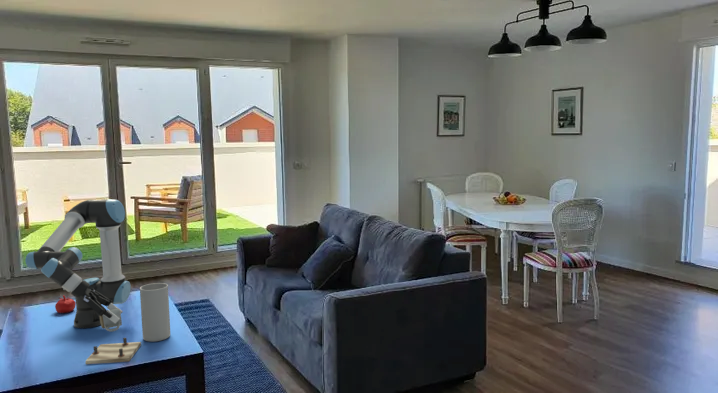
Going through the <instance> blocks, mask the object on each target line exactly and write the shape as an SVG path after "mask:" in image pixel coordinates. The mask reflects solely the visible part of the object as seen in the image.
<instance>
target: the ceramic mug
mask: <svg viewBox="0 0 718 393" xmlns="http://www.w3.org/2000/svg"><path fill="white" fill-rule="evenodd" d="M119 309H120V308H119V307H118V308H117V309H113V310H109V311H111V312H112V313H113V314H115V315H116V316H117V317H119V318H120V319H119V320H118V321H117V322H116V324H115V323H114V322H112V321H111V320H110V319H108V318H107V317H105V316H104V315H102V316H100V323H101V325H100V327H101V329H105V330H106V331H107V332H116V331H118V330H119V329H120V327H121V326H122V325H123V324H122V323H123V322H122V315H121V314H122V313H121V314H120V310H121V309H120V310H119Z"/></svg>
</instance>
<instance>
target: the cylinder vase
mask: <svg viewBox="0 0 718 393" xmlns="http://www.w3.org/2000/svg"><path fill="white" fill-rule="evenodd" d="M139 294H140V295H139V297H140V298H139V299H140V313H141V329H142V330H141V332H142V339H143V341H145V342H152V343H153V342H154V343H155V342H161V341H165V340H166V339H168V338H170V336H171V319H170V317H171V316H170V315H171V314H170V299H169V297H170V296H169V284H167V283H164V282H163V283H162V282H157V283H148V284H145V285H141V286H140V287H139Z"/></svg>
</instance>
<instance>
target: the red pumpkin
mask: <svg viewBox="0 0 718 393" xmlns="http://www.w3.org/2000/svg"><path fill="white" fill-rule="evenodd" d="M62 297H63V298H62ZM62 297H61V298H60V297H59V298H58V299H59V300H58V301H56V303H55V305H54V308H55V311H56V313H58V314H65V313H66V314H68V313H70V312H73V311H74V310H75V308H76V300H74V299H73V298H71V297H70V296H68V297H66V295H64V294H63V295H62Z"/></svg>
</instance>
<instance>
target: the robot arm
mask: <svg viewBox="0 0 718 393" xmlns="http://www.w3.org/2000/svg"><path fill="white" fill-rule="evenodd" d="M125 218H126V212H125V206H124V205H123V203H122V202H121V201H120V200H118V199H111V198H108V199H105V198H103V199H87V200H83V201H81V202H79V203H77V204H76V205H74V206H73V207H72V208H70V209H69V210H68V211H67V212H66V214H65V215H64V220H62V222H60V224H59V225H58V227H56V229H55V230H54V231H53V232H52V233H51V234H50V236H49V237H48V238H47V240H46V241H45V242H44V243H43V244H42V245H41V246H40V248H39V249H38V250H37V251H36V250H33V251H30V252H28V253H27V254H26V255H25V260H24V262H25V264H26V267H27V268H29V269H35V270H40V272H41V273H42V274H43V275H45V276H46V277H47V278H48V279H49V280H51V281H52V282H54V283H55V284H57V285H58V286H59V287H61V288H62V290H63V291H66V292H68V293H70V294H71V295H72V296H73V297H74V299H75V302H76V305H75V308H76V309H75V310H76V312H75V316H74V320H73V326H74V328H77V329H91V328H95V327H99V326H101V323H100V316H102V315H104V316H105V317H107V318H108V319H110V320H111V321H112V322H114V323H115V324H116V322H117V321H118V320H119V319H120V318H119V317H117V316H116V315H115V314H113V313H112V312H111V311H110V310H113V309H117V308H119V307H117V306H116V305H121V304H124V303H126V302H127V300H128V299H129V298H130V295H131V287H132V286H131V283H130V281H128V280H126V275H124V274H123V273H122V261H121V249H120V237H119V228H120V227H121V226H122V222H124V220H125ZM90 223H91V224H93V223H95V228H96V229H97V230H99V238H100V239H99V241H100V253H101V263H102V265H101V266H102V275H103V276H102V277H101V278H99V277H91V278H90V277H89V278H85V279H83V278H82V277H81V276H79V275H78V274H77V273H76V272H74V271H73V269H75V267H76V266H77V265H79V263H80V262H81V260H82V259H83V253H82V251H81V250H80V249H79V248H77V247H73V246H72V247H69V248H67V249H66V250H65V251H62V249H63V248H64V247H65V246H66V244H68V242H69V240H71V238H72V237H73V236H74V234H76V232H77V231H78V230H79V229H80V228H82V227H84V225H86V224H90ZM105 307H106V308H105ZM119 310H120V314H122V313H123V310H121V308H119Z"/></svg>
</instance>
